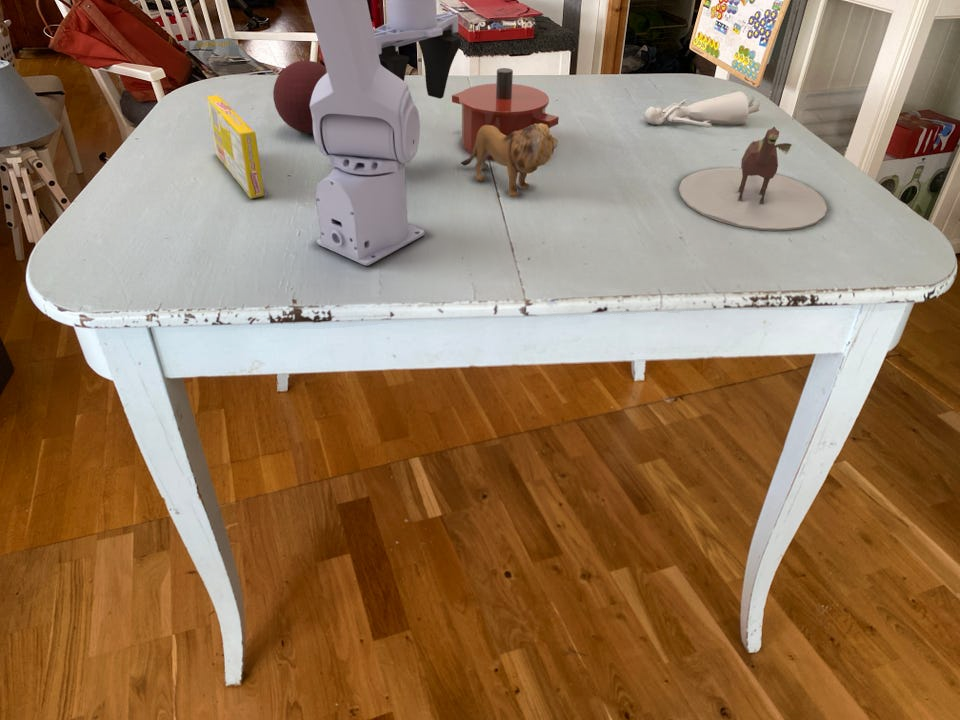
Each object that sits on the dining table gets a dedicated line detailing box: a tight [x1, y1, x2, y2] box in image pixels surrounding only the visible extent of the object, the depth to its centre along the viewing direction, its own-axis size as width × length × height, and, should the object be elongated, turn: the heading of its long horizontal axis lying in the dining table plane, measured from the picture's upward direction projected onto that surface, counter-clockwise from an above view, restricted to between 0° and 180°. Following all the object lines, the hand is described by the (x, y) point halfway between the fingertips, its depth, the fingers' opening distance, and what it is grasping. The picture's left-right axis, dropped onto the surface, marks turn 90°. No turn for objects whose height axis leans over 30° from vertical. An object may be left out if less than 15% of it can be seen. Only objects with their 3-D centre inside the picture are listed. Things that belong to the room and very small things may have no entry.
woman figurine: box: [644, 90, 762, 128], centre depth 111 cm, size 12×4×18 cm
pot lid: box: [459, 67, 550, 116], centre depth 98 cm, size 13×13×5 cm
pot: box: [451, 91, 560, 161], centre depth 101 cm, size 12×17×6 cm
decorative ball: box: [272, 60, 326, 135], centre depth 103 cm, size 10×10×10 cm
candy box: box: [206, 94, 265, 200], centre depth 90 cm, size 16×2×8 cm, turn 31°
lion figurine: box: [460, 123, 559, 198], centre depth 90 cm, size 15×5×9 cm, turn 49°
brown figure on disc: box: [678, 126, 828, 232], centre depth 87 cm, size 18×18×11 cm
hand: (415, 104), depth 88 cm, fingers open, 7 cm apart
